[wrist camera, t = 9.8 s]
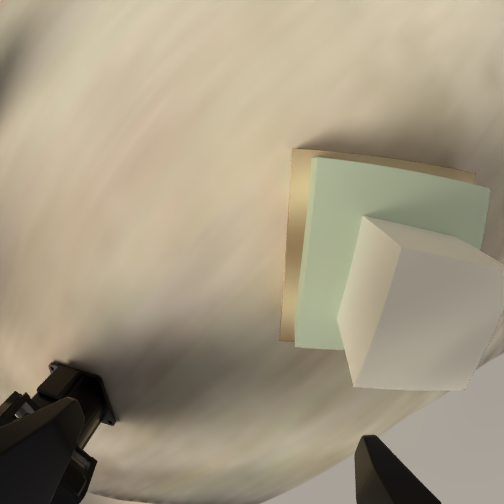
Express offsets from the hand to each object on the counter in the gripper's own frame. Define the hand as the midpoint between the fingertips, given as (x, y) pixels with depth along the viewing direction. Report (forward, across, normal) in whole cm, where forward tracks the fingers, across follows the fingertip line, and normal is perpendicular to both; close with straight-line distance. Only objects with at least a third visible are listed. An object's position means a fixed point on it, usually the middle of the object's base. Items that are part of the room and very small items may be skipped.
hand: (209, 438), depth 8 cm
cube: (+7, -7, -3) cm, 11 cm away
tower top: (+10, -8, -3) cm, 13 cm away
